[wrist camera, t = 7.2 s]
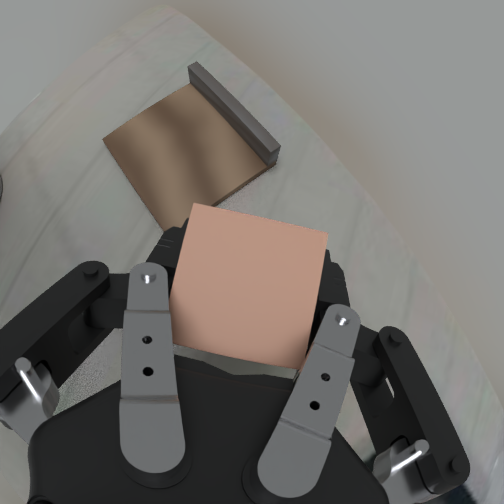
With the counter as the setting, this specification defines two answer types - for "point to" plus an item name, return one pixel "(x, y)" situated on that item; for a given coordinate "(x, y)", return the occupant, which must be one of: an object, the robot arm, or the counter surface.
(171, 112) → the shelf board
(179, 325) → the carton
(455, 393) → the counter surface
